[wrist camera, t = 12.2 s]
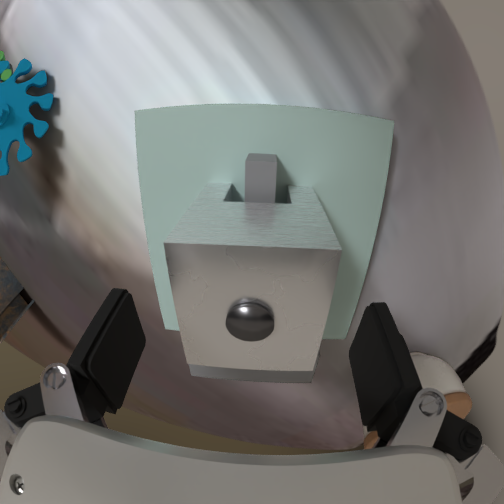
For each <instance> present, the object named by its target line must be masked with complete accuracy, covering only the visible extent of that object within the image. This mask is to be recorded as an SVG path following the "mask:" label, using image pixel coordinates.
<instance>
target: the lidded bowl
mask: <svg viewBox="0 0 504 504" xmlns="http://www.w3.org/2000/svg"><path fill="white" fill-rule="evenodd" d="M410 355H411V358H412V360H413V363H414V366H415V368H416V371H417V374H418V376H419V379H420V382H421V385H422V388H423V389H424V388H434V389H437V390H438V391H440V392H441V393H442V394H443V395H444V397H445V399H446V401H447V410H448V411H450V412H452V413H453V414H455V415H457V416H458V417H460V418H462V419H464V417H466V415H467V414H468V413H469V411H470V410H471V407H472V401H471V399H470V397H469V395H468V394H467V392H466V390H465V388H464V386H463V384H462V382H461V380H460V378H459V377H458V375H457V373H456V372H455V371H454V370H453V368H452V367H451V366H450V365H449V364H447V363H446V362H445V361H443V360H442V359H440V358H438V357H435V356H431V355H425V354H424V353H421V352H411V353H410ZM362 425H363V424H362ZM363 434H364V449H372V447H373V446H374V444H375V443H376V441H377V439H378V438H379V437H378V434H377V431H371V432H367V426H364V425H363Z"/></svg>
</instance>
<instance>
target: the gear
mask: <svg viewBox="0 0 504 504" xmlns="http://www.w3.org/2000/svg"><path fill="white" fill-rule="evenodd" d="M31 69H32V64H31V63H30V61H28V60H27V59H25V58H24V59H23V60H21V61H20V63H19V64H18V67H17V69H16V70H15V72H14V73H13V68H12V65H11V64H9V61H5V56H4V53H3V51H0V150H1V151H2V158H1V160H0V176H3V175H8V173H9V165H8V152H9V149H10V146H11V144H12V143H13V142H14V141H19V142H20V147H19V150H18V153H17V158H18V160H19V161H20V162H24V161H26V160H27V159H29V158H30V157H31V156H32V150H31V149H30V147H28V146H27V145H26V143H25V141H24V135H23V130H24V127H25V126H26V125H27V124H33V125H34V133H35V136H36V137H37V138H41V137H43V136H44V134H45V133H46V131H47V130H48V128H49V126H48V123H47V122H46V121H40V120H37V119H35V118H34V117H33V116H32V115H31V114H30V112H29V109H30V107H31V106H32V105H33V104H38V105H39V106H40V107H41V109H42V110H44V111H48V110H50V108H51V106H52V103H53V94H51V93H48V94H45V95H43V96H38V97H35V96H30V95H28V94H26V92H27V90H28V88H30V87H32V86H35V87H38V88H42V87H44V86H45V85H47V76H46V73H45V71H40V72H38V73H37V74H36V75H35V76H34V77H33V78H32V79H30V80H28V81H26V82H23V83H20V84H17V83H15V82H16V79H17V78H18V77H20V76H22V75H26V74H28V73H29V72H30V71H31Z"/></svg>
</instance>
